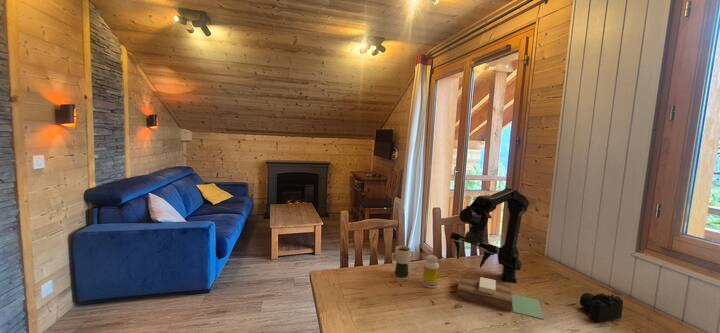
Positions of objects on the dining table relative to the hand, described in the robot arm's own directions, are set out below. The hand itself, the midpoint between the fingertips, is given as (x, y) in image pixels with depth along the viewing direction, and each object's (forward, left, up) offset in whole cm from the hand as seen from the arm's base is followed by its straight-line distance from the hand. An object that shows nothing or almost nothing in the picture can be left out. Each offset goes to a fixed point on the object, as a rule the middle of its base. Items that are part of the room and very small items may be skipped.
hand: (468, 263), depth 124 cm
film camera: (-10, +47, -14) cm, 50 cm away
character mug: (-4, -29, -14) cm, 33 cm away
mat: (-2, +22, -14) cm, 26 cm away
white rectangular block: (-2, +8, -10) cm, 13 cm away
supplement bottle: (-1, -15, -14) cm, 21 cm away
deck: (-2, +7, -14) cm, 16 cm away
